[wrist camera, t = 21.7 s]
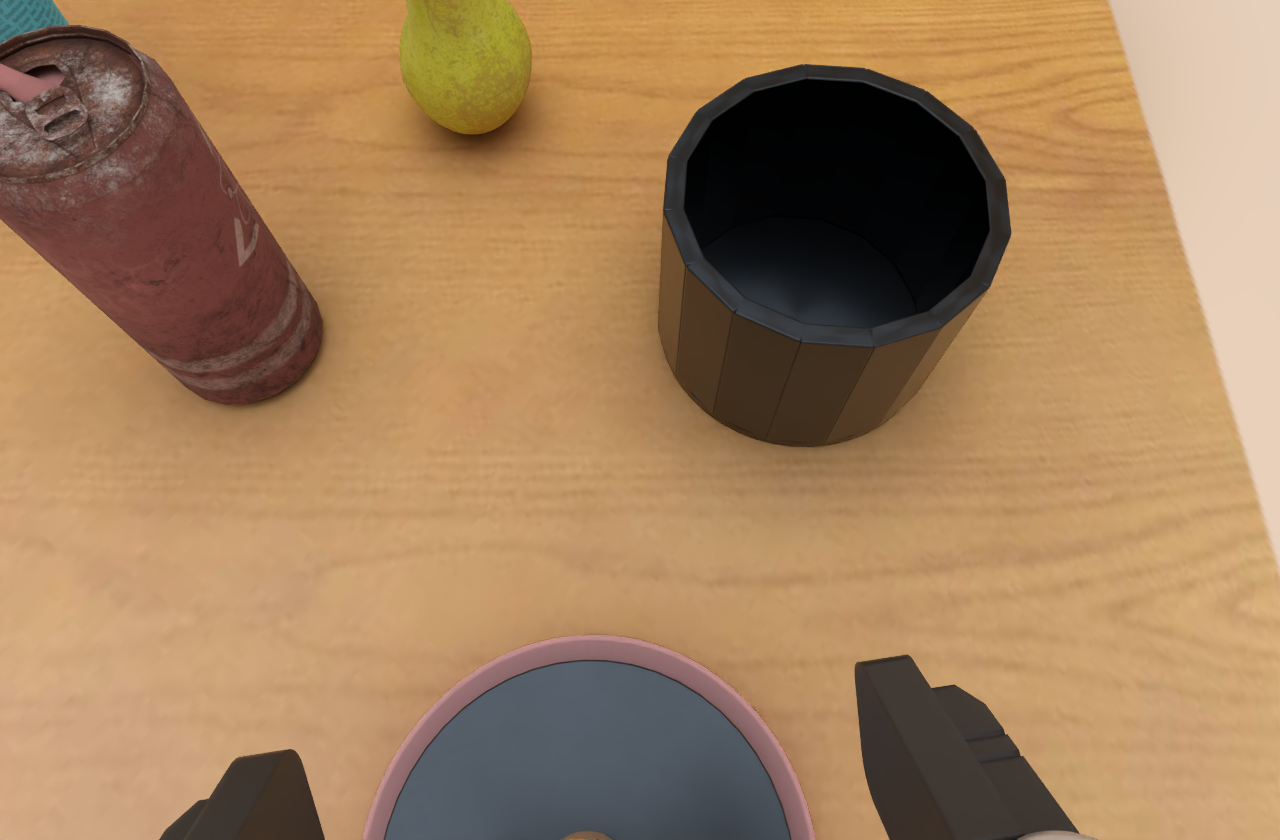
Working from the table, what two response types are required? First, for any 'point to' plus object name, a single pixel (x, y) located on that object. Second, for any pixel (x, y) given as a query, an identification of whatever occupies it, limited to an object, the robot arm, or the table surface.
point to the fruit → (465, 61)
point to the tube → (27, 16)
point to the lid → (589, 764)
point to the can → (147, 214)
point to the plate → (596, 650)
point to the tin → (822, 249)
